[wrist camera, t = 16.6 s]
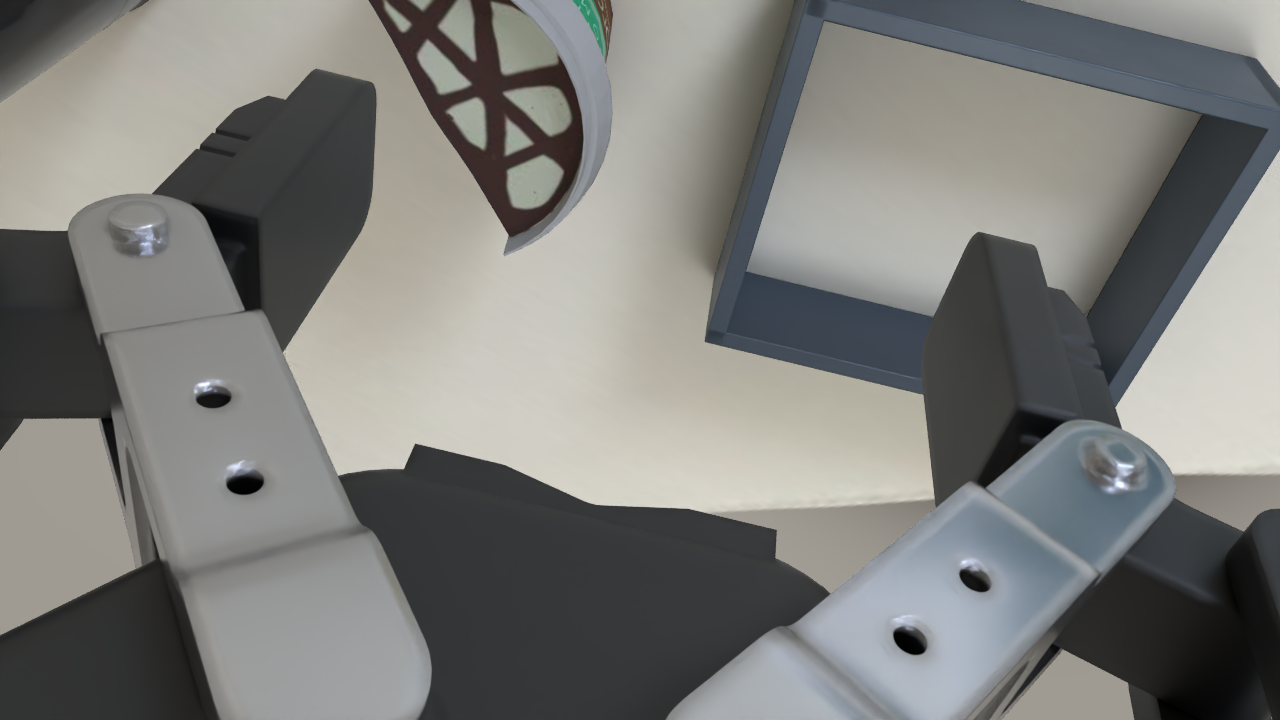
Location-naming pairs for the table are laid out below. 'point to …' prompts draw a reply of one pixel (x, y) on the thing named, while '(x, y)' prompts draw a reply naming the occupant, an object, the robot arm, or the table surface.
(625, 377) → the table surface
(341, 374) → the table surface
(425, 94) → the food container
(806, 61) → the rectangular frame
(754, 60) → the table surface
